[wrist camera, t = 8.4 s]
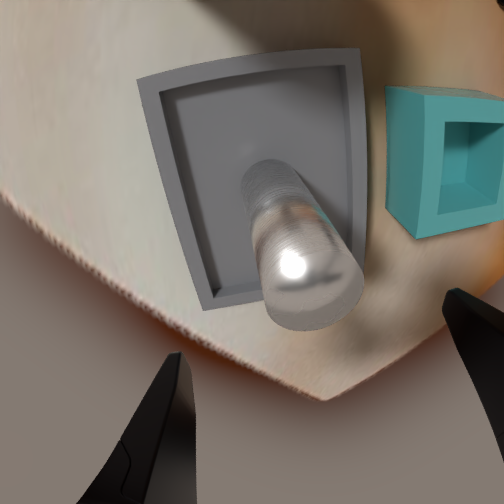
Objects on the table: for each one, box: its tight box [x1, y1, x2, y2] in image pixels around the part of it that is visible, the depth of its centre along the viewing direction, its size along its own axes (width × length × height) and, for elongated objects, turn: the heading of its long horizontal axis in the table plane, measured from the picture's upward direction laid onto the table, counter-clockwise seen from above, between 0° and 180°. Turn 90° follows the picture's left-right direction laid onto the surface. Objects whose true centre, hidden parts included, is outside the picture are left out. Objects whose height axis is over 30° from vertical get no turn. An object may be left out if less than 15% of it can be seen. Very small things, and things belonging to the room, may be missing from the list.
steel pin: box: [241, 159, 364, 331], centre depth 15 cm, size 4×4×10 cm
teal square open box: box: [385, 86, 504, 239], centre depth 18 cm, size 9×9×4 cm
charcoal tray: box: [137, 48, 367, 311], centre depth 19 cm, size 12×16×2 cm
